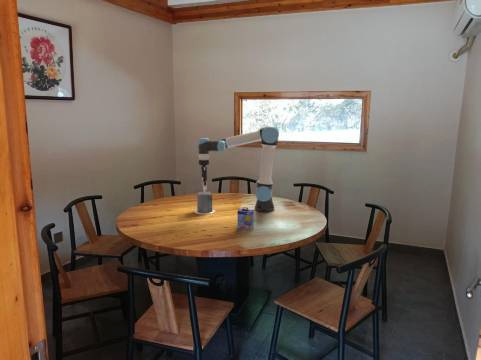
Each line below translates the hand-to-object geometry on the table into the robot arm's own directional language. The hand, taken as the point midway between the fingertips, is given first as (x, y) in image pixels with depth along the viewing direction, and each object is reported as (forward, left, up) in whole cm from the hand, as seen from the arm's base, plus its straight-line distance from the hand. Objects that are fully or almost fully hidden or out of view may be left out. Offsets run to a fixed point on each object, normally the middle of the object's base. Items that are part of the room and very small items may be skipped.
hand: (204, 187), depth 273 cm
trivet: (0, 0, -19) cm, 19 cm away
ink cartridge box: (-23, +43, -19) cm, 52 cm away
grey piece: (0, -1, -18) cm, 18 cm away
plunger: (0, 0, -14) cm, 14 cm away
